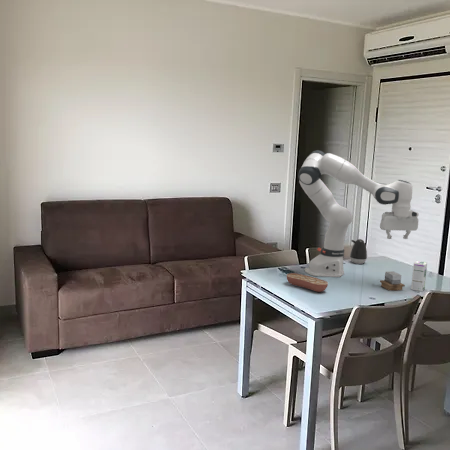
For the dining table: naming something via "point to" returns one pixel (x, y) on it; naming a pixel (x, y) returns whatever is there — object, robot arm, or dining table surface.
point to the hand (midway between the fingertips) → (397, 238)
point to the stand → (391, 286)
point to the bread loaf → (307, 282)
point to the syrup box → (419, 276)
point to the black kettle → (358, 252)
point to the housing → (393, 278)
